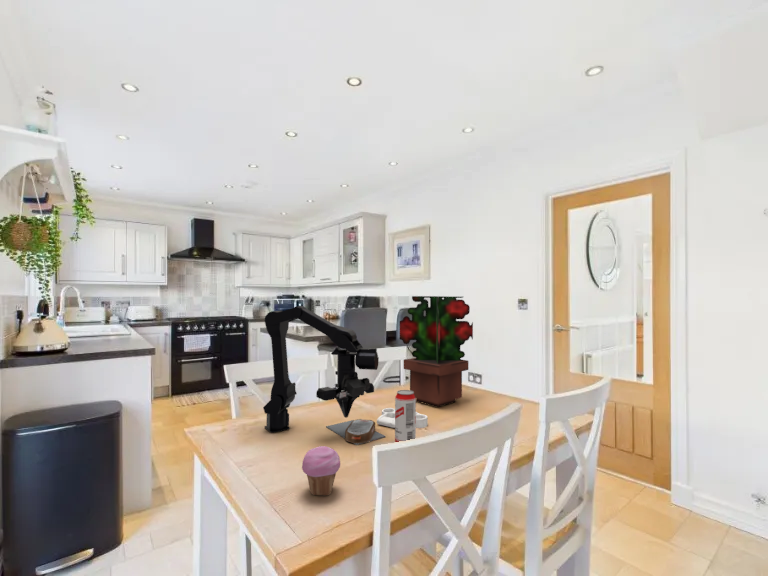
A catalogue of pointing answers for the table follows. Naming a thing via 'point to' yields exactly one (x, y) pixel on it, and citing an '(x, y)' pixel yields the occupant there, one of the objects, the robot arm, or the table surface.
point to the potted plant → (436, 348)
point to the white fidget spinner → (389, 418)
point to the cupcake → (321, 469)
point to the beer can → (405, 415)
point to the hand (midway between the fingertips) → (346, 417)
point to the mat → (342, 427)
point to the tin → (360, 431)
